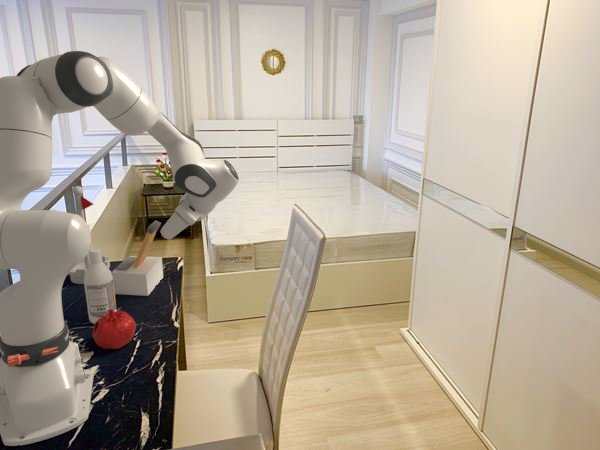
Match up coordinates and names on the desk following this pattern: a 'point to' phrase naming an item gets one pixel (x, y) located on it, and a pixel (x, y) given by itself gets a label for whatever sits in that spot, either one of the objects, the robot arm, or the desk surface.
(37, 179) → the robot arm
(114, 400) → the desk surface
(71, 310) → the desk surface
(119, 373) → the desk surface
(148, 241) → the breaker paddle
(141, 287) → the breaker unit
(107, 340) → the pomegranate
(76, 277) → the flag stand
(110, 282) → the bath foam
